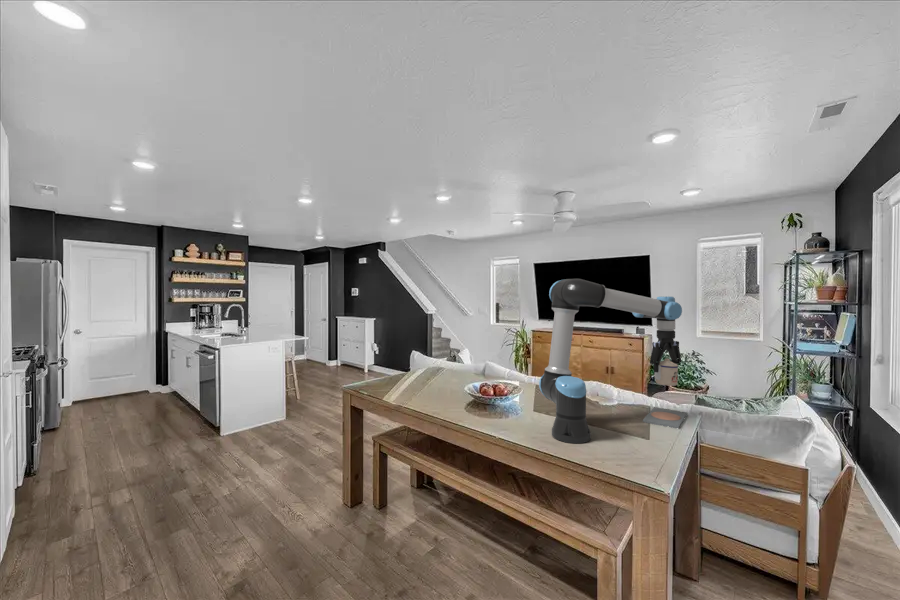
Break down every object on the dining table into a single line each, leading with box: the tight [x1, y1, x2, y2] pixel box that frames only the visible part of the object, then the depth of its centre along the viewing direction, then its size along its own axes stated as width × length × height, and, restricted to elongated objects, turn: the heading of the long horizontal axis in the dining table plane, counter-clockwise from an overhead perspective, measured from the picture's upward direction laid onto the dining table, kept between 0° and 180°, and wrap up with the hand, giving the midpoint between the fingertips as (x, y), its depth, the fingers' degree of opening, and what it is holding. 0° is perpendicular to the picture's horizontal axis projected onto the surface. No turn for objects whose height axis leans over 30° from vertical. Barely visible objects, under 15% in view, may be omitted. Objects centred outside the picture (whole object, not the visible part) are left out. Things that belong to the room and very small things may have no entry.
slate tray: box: [642, 406, 688, 430], centre depth 176 cm, size 24×14×1 cm, turn 141°
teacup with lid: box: [655, 358, 679, 387], centre depth 176 cm, size 12×9×12 cm
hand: (665, 378), depth 176 cm, fingers closed on teacup with lid, 9 cm apart
